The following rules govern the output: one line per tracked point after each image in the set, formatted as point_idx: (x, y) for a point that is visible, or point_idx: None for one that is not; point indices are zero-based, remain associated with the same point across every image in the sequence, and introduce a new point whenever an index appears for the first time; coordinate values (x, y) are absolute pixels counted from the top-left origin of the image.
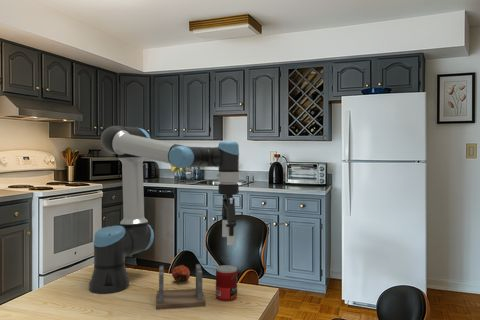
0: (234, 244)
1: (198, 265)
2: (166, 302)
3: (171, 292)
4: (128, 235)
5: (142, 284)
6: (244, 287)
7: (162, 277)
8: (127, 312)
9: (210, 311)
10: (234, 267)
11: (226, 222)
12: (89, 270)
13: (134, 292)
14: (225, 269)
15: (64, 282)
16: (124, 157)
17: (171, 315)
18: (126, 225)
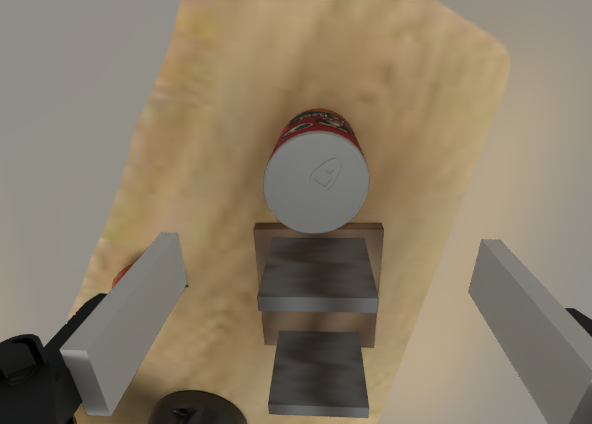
0: (500, 244)
1: (279, 303)
2: (360, 325)
3: (282, 312)
4: None
5: (180, 364)
6: (213, 55)
7: (367, 398)
8: (373, 387)
9: (426, 212)
10: (304, 144)
11: (113, 354)
12: None
13: (242, 378)
14: (322, 191)
15: None
16: None
17: (421, 307)
18: None
